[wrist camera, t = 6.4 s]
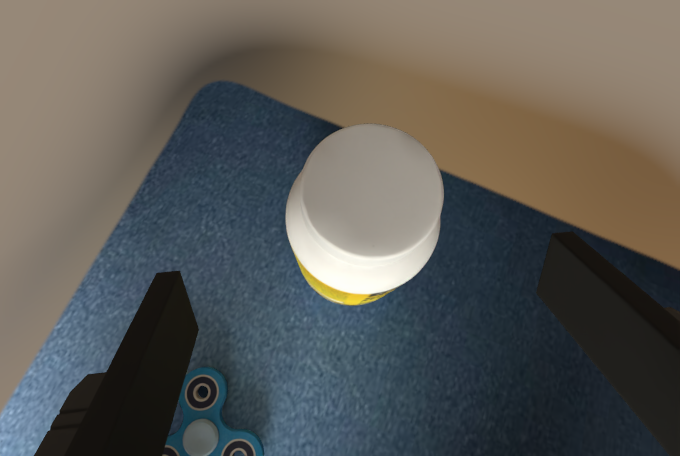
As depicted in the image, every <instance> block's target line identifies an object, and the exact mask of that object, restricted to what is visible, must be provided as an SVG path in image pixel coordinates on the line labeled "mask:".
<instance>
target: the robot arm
mask: <svg viewBox="0 0 680 456" xmlns="http://www.w3.org/2000/svg"><path fill="white" fill-rule="evenodd" d="M536 293H537V295H538V296H539V297H540V298H541V299H542V301H543V302H544V303H545V304H546V306H547V307H548V308H549V309H550V310H551V312H552V313H553V314H554V315H555V317H556V318H557V319H558V320H559V321H560V323H561V324H562V325H563V326H564V327H565V329H566V330H567V331H568V332H569V334H570V335H571V336H572V337H573V338H574V340H575V341H576V342H577V343H578V345H579V346H580V347H581V348H582V349H583V351H584V352H585V353H586V354H587V355H588V357H589V358H590V359H591V360H592V362H593V363H594V364H595V365H596V366H597V368H598V369H599V370H600V371H601V373H602V374H603V375H604V376H605V377H606V379H607V380H608V381H609V382H610V384H611V385H612V386H613V387H614V388H615V390H616V391H617V392H618V393H619V394H620V396H621V397H622V398H623V399H624V401H625V402H626V403H627V404H628V405H629V407H630V408H631V409H632V410H633V412H634V413H635V414H636V415H637V416H638V418H639V419H640V420H641V421H642V423H643V424H644V425H645V426H646V427H647V429H648V430H649V431H650V432H651V433H652V435H653V436H654V437H655V438H656V440H657V441H658V442H659V443H660V444H661V446H662V447H663V448H664V449H665V451H666V452H667V453H668V454H669V455H670V456H680V312H679V311H677V310H675V309H673V308H671V307H668V308H663V307H662V306H661V305H660V304H658V303H657V302H656V301H655V300H654V299H652V298H651V297H650V296H649V295H648V294H646V293H645V292H644V291H643V290H642V289H640V288H639V287H638V286H637V285H636V284H635V283H633V282H632V281H631V280H630V279H629V278H627V277H626V276H625V275H624V274H623V273H621V272H620V271H619V270H618V269H617V268H615V267H614V266H613V265H612V264H611V263H609V262H608V261H607V260H606V259H605V258H603V257H602V256H601V255H600V254H599V253H598V252H596V251H595V250H594V249H593V248H592V247H590V246H589V245H588V244H587V243H586V242H584V241H583V240H582V239H581V238H580V237H578V236H577V235H576V234H575V233H574V232H563V233H553V234H552V236H551V239H550V243H549V247H548V251H547V254H546V258H545V262H544V266H543V269H542V273H541V277H540V280H539V284H538V288H537V292H536ZM198 331H199V328H198V325H197V322H196V319H195V316H194V313H193V310H192V307H191V304H190V301H189V298H188V295H187V292H186V289H185V286H184V282H183V279H182V276H181V273H180V271H171V272H161V273H156V275H155V277H154V279H153V281H152V283H151V285H150V287H149V289H148V291H147V293H146V295H145V297H144V299H143V301H142V303H141V305H140V307H139V309H138V311H137V313H136V315H135V317H134V319H133V321H132V322H131V324H130V326H129V328H128V330H127V332H126V334H125V336H124V338H123V340H122V342H121V344H120V346H119V348H118V350H117V352H116V354H115V356H114V358H113V360H112V362H111V364H110V366H109V368H108V370H107V372H105V373H96V374H88V375H87V376H86V377H85V378H84V379H83V380H82V381H81V382H80V383H79V384H78V385H77V386H76V387H75V388H74V389H73V390H72V391H71V392H70V393H69V395H68V397H67V399H66V400H65V402H64V404H63V406H62V407H61V409H60V414H59V415H57V416H56V418H55V420H54V421H53V423H52V425H51V429H50V431H48V432H47V434H46V435H45V437H44V439H43V441H42V442H41V444H40V446H39V448H38V449H37V451H36V453H35V455H34V456H162V455H163V452H164V448H165V445H166V441H167V438H168V434H169V431H170V427H171V424H172V421H173V417H174V414H175V410H176V407H177V403H178V400H179V396H180V393H181V390H182V386H183V383H184V379H185V376H186V372H187V369H188V366H189V362H190V359H191V355H192V352H193V348H194V345H195V341H196V338H197V335H198Z"/></svg>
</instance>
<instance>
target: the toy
mask: <svg viewBox="0 0 680 456" xmlns="http://www.w3.org/2000/svg"><path fill="white" fill-rule="evenodd" d="M200 386H206V387H207V388H208V395H207V397H206V398H202V397H200V396H199V394H198V390H199V388H200ZM227 392H228V387H227V382H226V379H225V377H224V376H223V374H222V373H221V372H220V371H218V370H217V369H215V368H212V367H202V368H198V369H195V370H193V371H191V372H190V373H189V374H187V375H186V376H185V379H184V383H183V386H182V390H181V393H180V396H179V403H180V406H181V408H182V410H183V414H184V418H183V423H182V425H181V427H180V429H179V430H178V431H177V432H176V433H175V434H172V435H168V438H167V441H166V445H165V448H164V452H163V455H162V456H234V452H235V451H242V452H243V453H244V455H245V456H264V448H263V444H262V442H261V440H260V438H259V437H258V436H257V435H256V434H255V433H253V432H252V431H249V430H247V429H233V428H230V427H229V426H228V425H227V424H226V423H225V422H224V420H223V417H222V407H223V404H224V402H225V400H226V397H227Z"/></svg>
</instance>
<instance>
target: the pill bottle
mask: <svg viewBox="0 0 680 456" xmlns="http://www.w3.org/2000/svg"><path fill="white" fill-rule="evenodd" d="M443 199H444V187H443V182H442V177H441V174H440V171H439V168H438V166H437V164H436V162H435V160H434V159H433V157H432V156H431V154H430V153H429V152H428V151H427V149H426V148H425V147H424V146H423V145H422V144H421V143H420V142H419V141H417V140H416V139H415V138H413V137H412V136H410V135H409V134H407V133H406V132H404V131H401V130H399V129H396V128H393V127H390V126H386V125H381V124H358V125H353V126H349V127H346V128H343V129H340V130H338V131H336V132H334V133H333V134H331V135H329V136H328V137H326V138H325V139H324V140H323V141H321V142H320V143H319V144H318V145H317V146H316V147H315V149H314V150H313V151H312V153H311V154H310V156H309V157H308V159H307V161H306V163H305V165H304V168H303V170H302V171H301V173H300V174H299V175H298V177H297V179H296V180H295V182H294V184H293V186H292V188H291V191H290V193H289V197H288V200H287V206H286V228H287V234H288V238H289V241H290V244H291V247H292V250H293V252H294V254H295V257H296V259H297V262H298V264H299V267H300V269H301V272H302V274H303V276H304V278H305V279H306V281H307V282H308V284H309V285H310V286H311V287H312V288H313V289H314V290H315V291H316V292H317V293H318V294H319V295H321V296H322V297H324V298H325V299H327V300H329V301H331V302H334V303H337V304H341V305H350V306H354V305H363V304H367V303H370V302H373V301H375V300H377V299H379V298H381V297H383V296H384V295H386V294H388V293H389V292H391V291H393V290H394V289H396V288H398V287H399V286H401V285H402V284H404V283H405V282H407V281H408V280H410V279H411V278H413V277H414V276H415V275H416V274H417V273H418V272H419V271H420V270H421V269H422V267H423V266H424V265H425V264H426V262H427V261H428V260H429V258H430V256H431V254H432V252H433V250H434V248H435V246H436V243H437V240H438V236H439V231H440V214H441V211H442V206H443Z"/></svg>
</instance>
